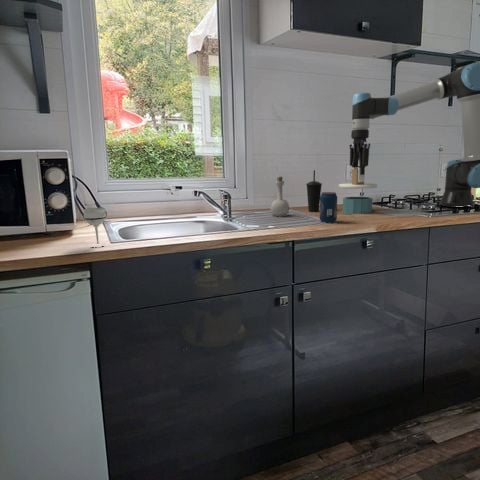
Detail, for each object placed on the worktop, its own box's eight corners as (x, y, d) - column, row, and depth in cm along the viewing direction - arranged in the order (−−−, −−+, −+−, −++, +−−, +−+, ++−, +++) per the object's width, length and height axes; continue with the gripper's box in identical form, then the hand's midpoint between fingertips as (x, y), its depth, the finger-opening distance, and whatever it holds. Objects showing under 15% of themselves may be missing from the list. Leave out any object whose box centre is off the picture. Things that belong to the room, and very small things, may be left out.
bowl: (361, 210, 190) (362, 196, 188) (377, 213, 177) (378, 198, 176) (337, 212, 186) (338, 197, 185) (352, 215, 174) (352, 200, 173)
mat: (405, 210, 188) (405, 208, 187) (432, 214, 171) (432, 213, 170) (373, 212, 183) (373, 210, 183) (397, 217, 166) (397, 216, 166)
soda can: (318, 220, 164) (319, 192, 161) (335, 220, 163) (336, 191, 160) (320, 223, 157) (321, 193, 154) (337, 223, 156) (338, 193, 154)
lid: (363, 185, 190) (364, 168, 188) (384, 187, 174) (385, 169, 172) (332, 186, 185) (332, 169, 184) (351, 189, 169) (351, 170, 168)
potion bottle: (277, 217, 174) (277, 177, 170) (266, 215, 181) (266, 176, 177) (293, 215, 178) (293, 176, 174) (281, 213, 185) (281, 175, 182)
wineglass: (111, 243, 128) (107, 207, 125) (107, 248, 121) (103, 210, 119) (89, 244, 127) (85, 208, 125) (84, 249, 120) (80, 211, 118)
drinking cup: (317, 213, 185) (318, 170, 181) (303, 211, 190) (303, 170, 185) (324, 211, 191) (325, 170, 187) (310, 210, 196) (310, 170, 191)
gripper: (343, 130, 181) (341, 181, 186) (363, 128, 165) (361, 183, 170) (357, 130, 183) (355, 180, 188) (378, 128, 167) (376, 182, 172)
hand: (357, 181), depth 179 cm, fingers closed on lid, 4 cm apart
